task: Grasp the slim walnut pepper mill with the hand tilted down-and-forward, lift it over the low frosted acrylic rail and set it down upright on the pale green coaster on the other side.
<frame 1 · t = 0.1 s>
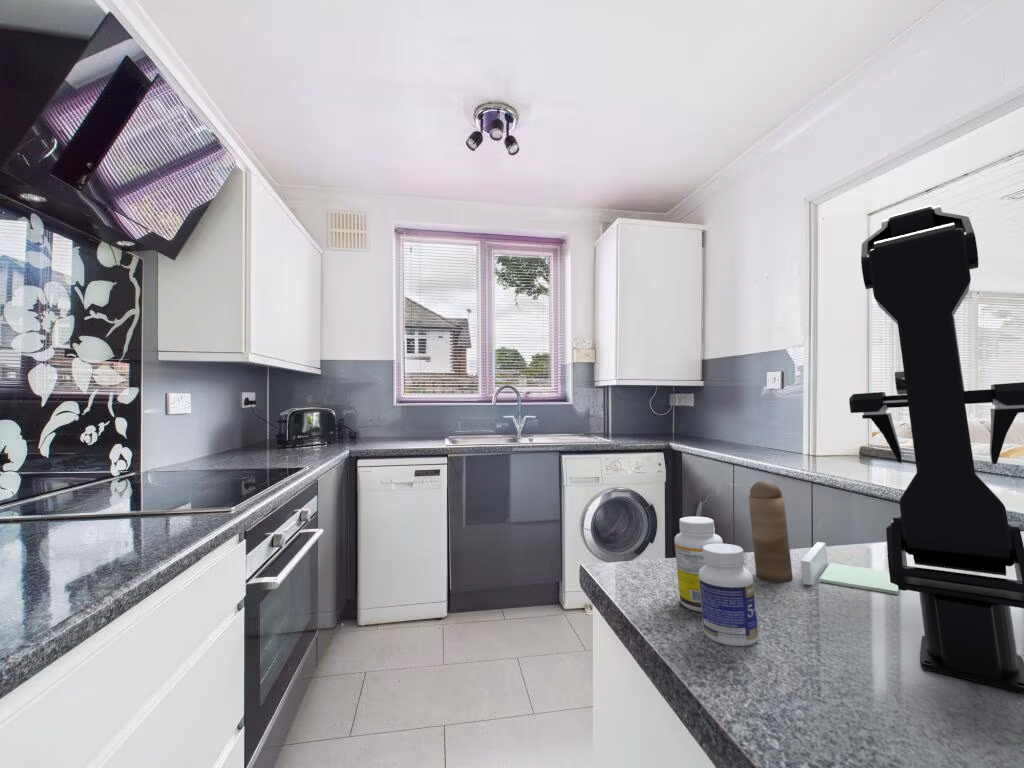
hand: (945, 462, 61), 15 cm above the countertop, tool pointing down, fingers open, 9 cm apart
pepper mill: (774, 576, 63), on the countertop
coaster: (861, 578, 61), on the countertop
rail: (816, 573, 64), on the countertop
pill bottle: (730, 637, 47), on the countertop
supplement bottle: (704, 607, 55), on the countertop
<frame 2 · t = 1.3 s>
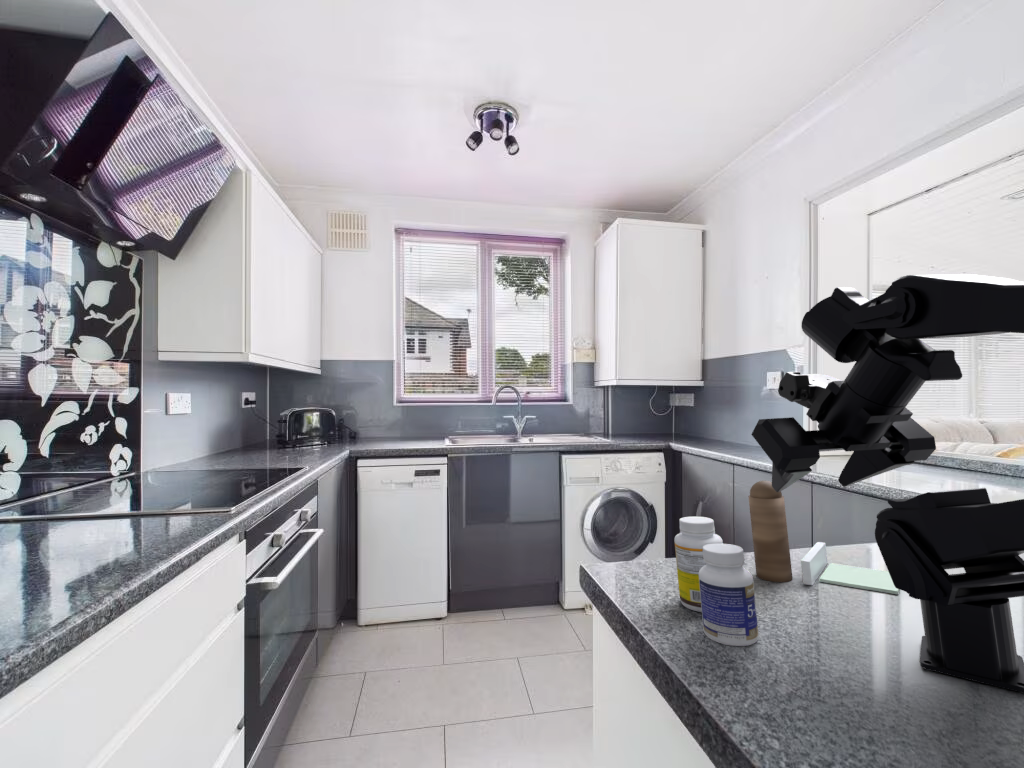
hand: (808, 486, 57), 13 cm above the countertop, tool tilted 45°, fingers open, 9 cm apart
nothing on the countertop moved.
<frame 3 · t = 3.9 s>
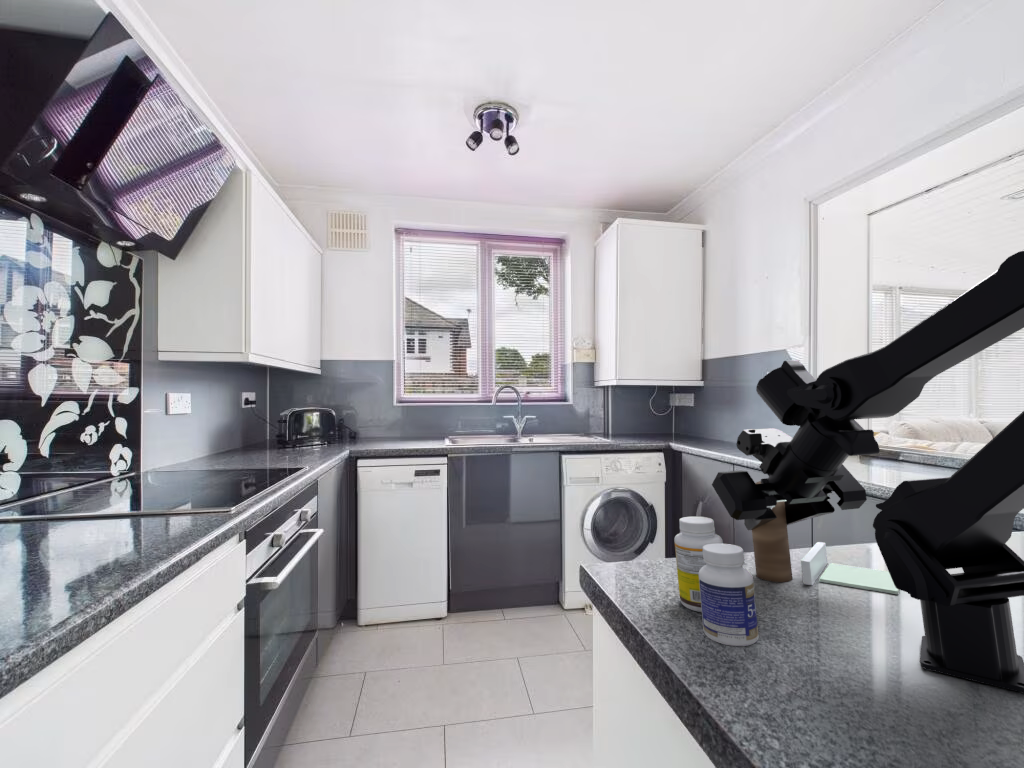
hand: (762, 526, 65), 7 cm above the countertop, tool tilted 45°, fingers closed on pepper mill, 4 cm apart
pepper mill: (774, 576, 63), on the countertop, touching gripper
everything else where it was.
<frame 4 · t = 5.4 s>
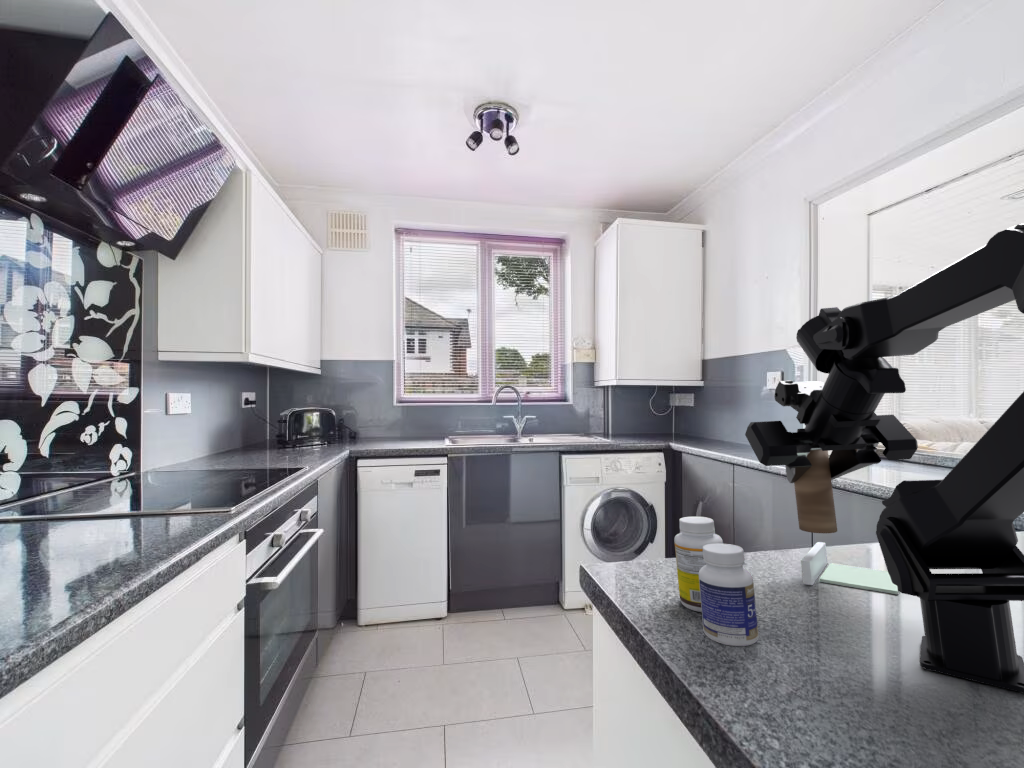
hand: (807, 479, 65), 13 cm above the countertop, tool tilted 45°, fingers closed on pepper mill, 4 cm apart
pepper mill: (818, 529, 63), point 6 cm above the countertop, touching gripper
everything else where it was.
when the fingers open (8 cm above the countertop, at t = 7.0 s): pepper mill drops 1 cm, resting on coaster.
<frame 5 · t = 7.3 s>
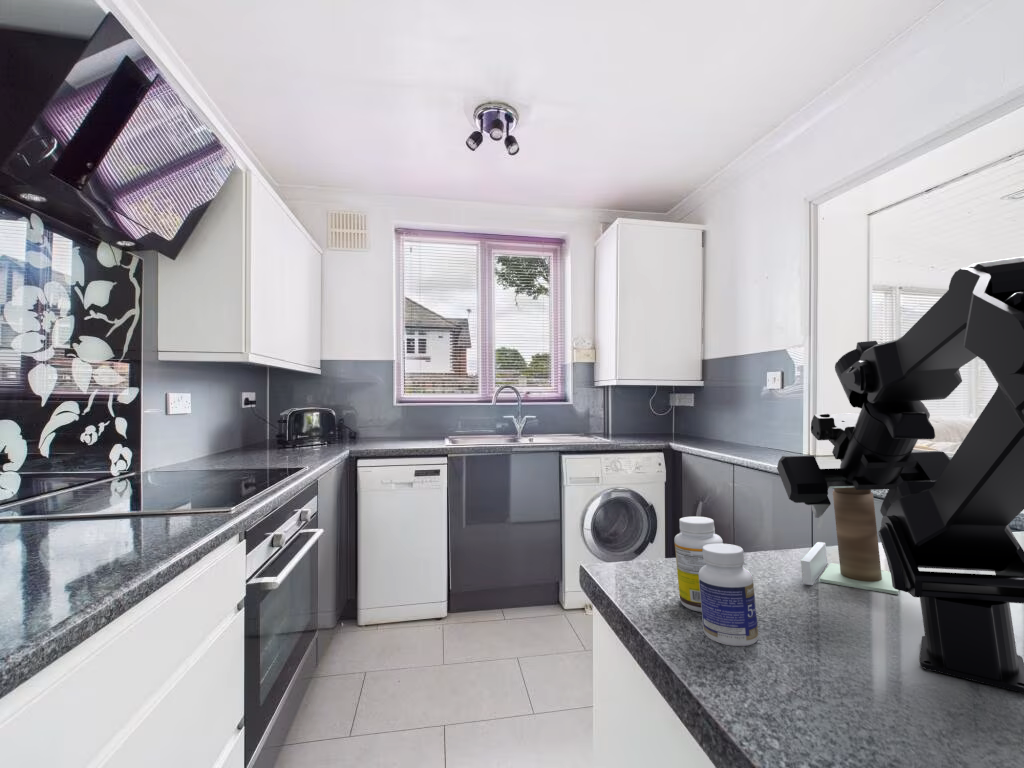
hand: (848, 514, 63), 8 cm above the countertop, tool tilted 45°, fingers open, 8 cm apart
pepper mill: (860, 575, 61), resting on coaster
everything else where it was.
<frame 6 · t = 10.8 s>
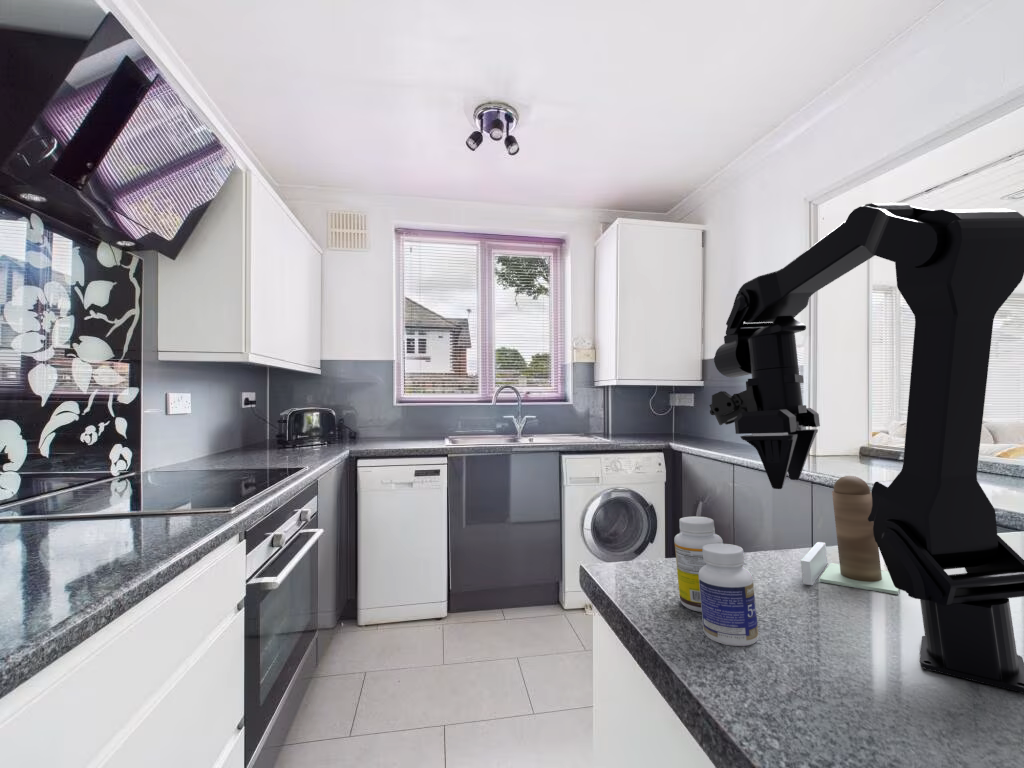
hand: (786, 483, 62), 13 cm above the countertop, tool pointing down, fingers open, 9 cm apart
nothing on the countertop moved.
at the end: pepper mill inside the target area on the coaster (0.0 cm from its centre), point 0.4 cm above the coaster's base; pepper mill tilted 1°; the gripper is holding nothing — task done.
